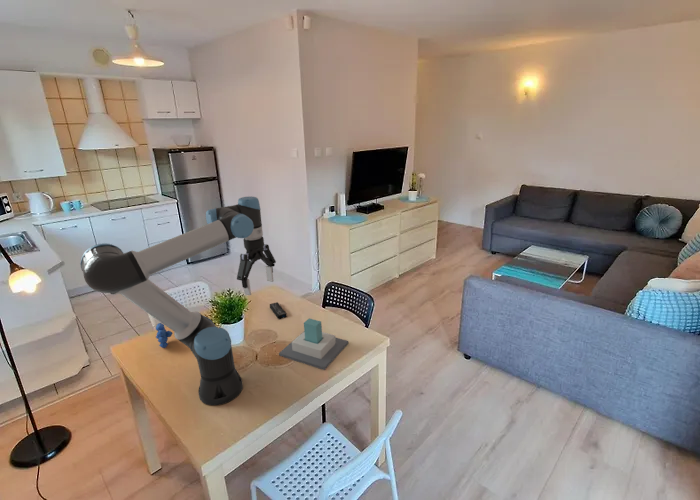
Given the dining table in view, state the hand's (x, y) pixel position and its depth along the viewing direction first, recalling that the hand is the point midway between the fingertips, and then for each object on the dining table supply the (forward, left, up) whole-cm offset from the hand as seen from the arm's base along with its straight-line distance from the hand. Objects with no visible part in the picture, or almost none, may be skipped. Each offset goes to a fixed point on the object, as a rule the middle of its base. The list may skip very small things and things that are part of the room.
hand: (259, 287), depth 149 cm
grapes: (-18, +41, -29) cm, 53 cm away
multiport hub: (+28, +15, -29) cm, 43 cm away
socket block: (+8, -19, -29) cm, 35 cm away
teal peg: (+8, -19, -28) cm, 34 cm away
